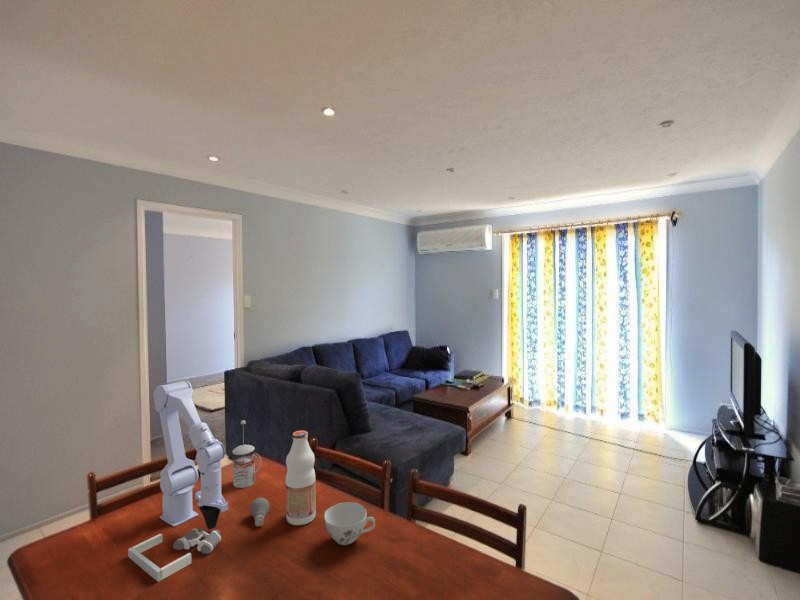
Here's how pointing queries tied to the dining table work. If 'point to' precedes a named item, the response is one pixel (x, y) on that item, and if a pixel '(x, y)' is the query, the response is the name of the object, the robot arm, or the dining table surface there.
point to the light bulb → (259, 510)
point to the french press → (238, 477)
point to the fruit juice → (300, 481)
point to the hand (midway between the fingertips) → (211, 527)
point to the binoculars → (194, 538)
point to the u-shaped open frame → (150, 567)
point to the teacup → (347, 522)
